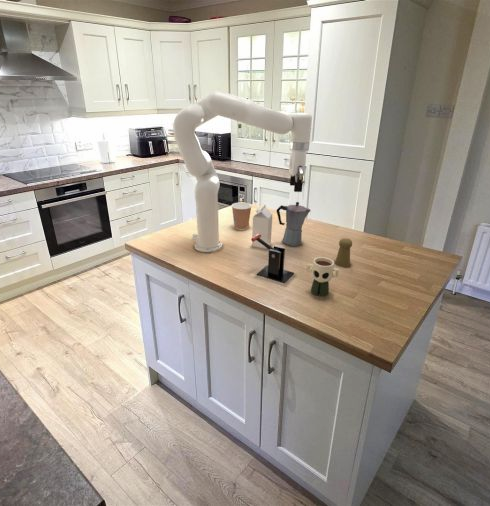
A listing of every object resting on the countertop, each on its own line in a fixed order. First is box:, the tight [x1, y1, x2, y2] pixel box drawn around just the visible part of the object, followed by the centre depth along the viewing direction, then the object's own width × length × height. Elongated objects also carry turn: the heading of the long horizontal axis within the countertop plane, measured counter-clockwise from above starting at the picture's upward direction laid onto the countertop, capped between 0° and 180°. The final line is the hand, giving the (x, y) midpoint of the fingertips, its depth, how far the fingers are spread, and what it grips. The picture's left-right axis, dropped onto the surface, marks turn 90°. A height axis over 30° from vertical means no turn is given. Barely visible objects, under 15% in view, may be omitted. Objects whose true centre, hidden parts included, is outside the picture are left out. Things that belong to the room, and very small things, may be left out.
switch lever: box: [250, 234, 282, 255], centre depth 132 cm, size 12×5×2 cm, turn 61°
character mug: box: [306, 256, 340, 298], centre depth 122 cm, size 11×7×13 cm, turn 69°
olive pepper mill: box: [334, 237, 353, 268], centre depth 144 cm, size 6×6×11 cm
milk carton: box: [251, 204, 273, 249], centre depth 157 cm, size 7×7×19 cm
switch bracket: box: [256, 245, 295, 284], centre depth 133 cm, size 12×9×12 cm
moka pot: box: [276, 201, 312, 247], centre depth 160 cm, size 10×15×20 cm, turn 89°
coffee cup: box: [231, 201, 253, 231], centre depth 179 cm, size 10×10×12 cm
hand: (295, 188), depth 146 cm, fingers open, 9 cm apart
